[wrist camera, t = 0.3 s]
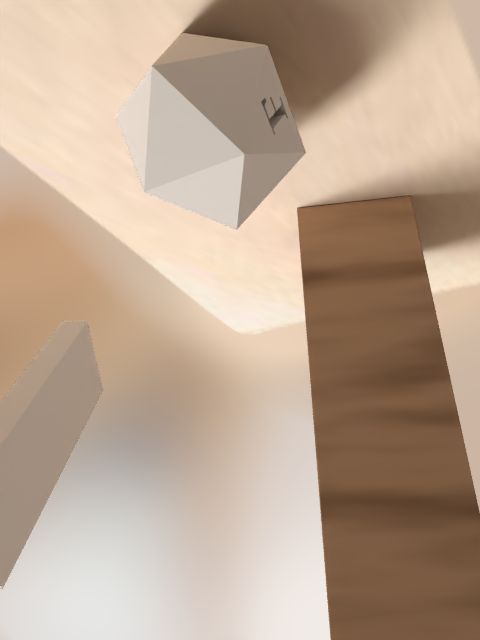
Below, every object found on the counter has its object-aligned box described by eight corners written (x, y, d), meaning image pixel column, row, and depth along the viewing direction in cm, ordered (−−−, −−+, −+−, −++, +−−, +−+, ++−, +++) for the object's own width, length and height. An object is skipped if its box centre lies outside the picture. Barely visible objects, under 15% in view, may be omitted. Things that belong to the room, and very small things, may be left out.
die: (274, 145, 29) (357, 185, 21) (159, 217, 29) (201, 283, 21) (217, 4, 24) (299, -12, 16) (78, 88, 24) (94, 113, 16)
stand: (297, 208, 33) (339, 739, 20) (410, 195, 32) (531, 750, 19) (301, 266, 40) (334, 687, 27) (394, 257, 39) (474, 692, 26)
